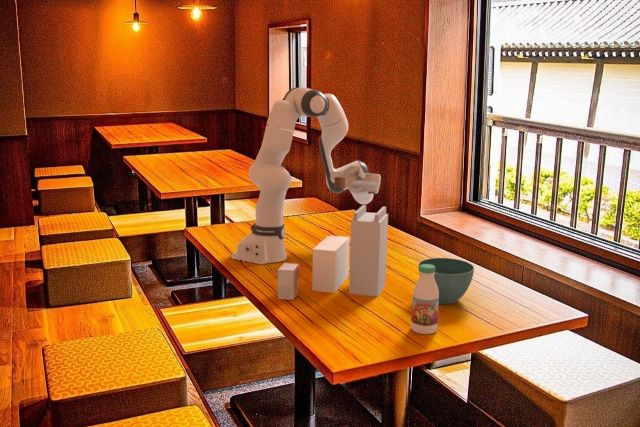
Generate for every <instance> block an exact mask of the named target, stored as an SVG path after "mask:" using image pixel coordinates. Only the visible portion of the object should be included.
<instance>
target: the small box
mask: <svg viewBox="0 0 640 427" xmlns="http://www.w3.org/2000/svg"><path fill="white" fill-rule="evenodd" d="M299 277H300V264H299V263H289V262H283V264H282V265H281V266H280V267H279V268H278V269H277V300H288V301H294V300H295V298H296V297H297V296H298V294H299V293H300V290H299V289H300V278H299Z"/></svg>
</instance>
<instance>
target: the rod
mask: <svg viewBox="0 0 640 427" xmlns="http://www.w3.org/2000/svg"><path fill="white" fill-rule="evenodd" d="M357 171H360V166H349V167H348V168H347V169H345V170H344V171H342V172H341V173H340V174H338V175H337V176H335V178H334V188H344V189H345V188H346V187H348V186H349V185H350V184H351V183H352V182H354V181H355V180H356V179H357V178H359V177H360V176H357V173H358V172H357Z"/></svg>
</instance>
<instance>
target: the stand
mask: <svg viewBox="0 0 640 427" xmlns="http://www.w3.org/2000/svg"><path fill="white" fill-rule="evenodd" d="M388 224H389V213H387V206H382V207H381V208H380V209H379V210H378V211H377V212H367V204H361V206H359V208H358V209H356V210H355V212H353V218H352V219H350V242H349V284H348V285H349V286H348V288H349V290H348V291H349V295H357V296H358V295H359V296H369V297H376V298H378V297H379V296H380V294H381V292H382V291H383V289H384V287H385V286H386V279H387V275H386V274H387V253H388V231H389V230H388V229H389V228H388V226H389V225H388Z"/></svg>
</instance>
